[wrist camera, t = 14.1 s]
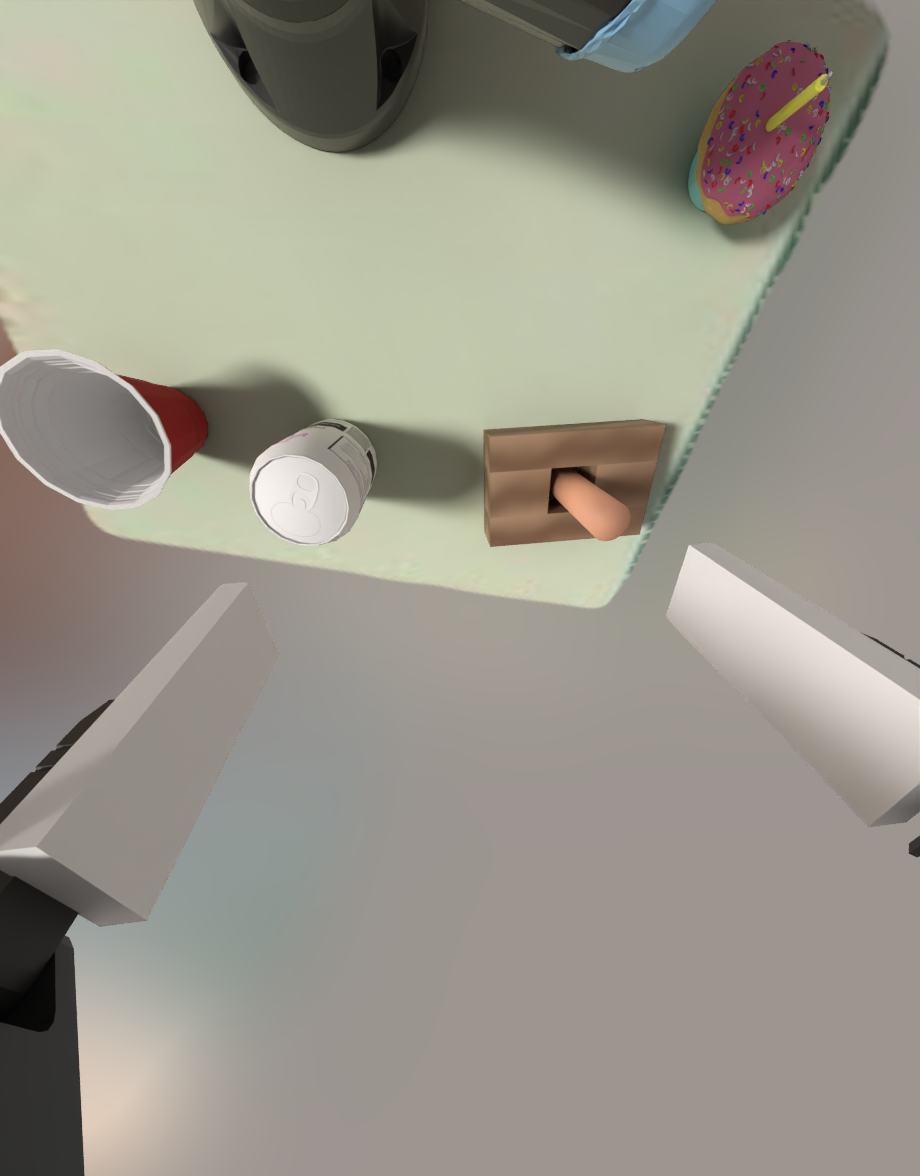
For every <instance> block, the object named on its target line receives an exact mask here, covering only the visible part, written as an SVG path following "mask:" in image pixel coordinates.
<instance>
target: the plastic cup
mask: <svg viewBox="0 0 920 1176" xmlns="http://www.w3.org/2000/svg"><path fill="white" fill-rule="evenodd" d="M0 433H1V435H2V436H3V438H4V439H5V441H6V443H7V444H8V446H9V447H10V449H11V451H12V452H13V454H14V455H15V457H16V459H17V460H18V461H20V462H21V463H22V464H23V465H24V466H25V467H26V468H27V469H28V470H29V471H31V472H32V473H33V474H34V475H35V476H36V477H37V478H38V479H39V480H40V481H42V482H43V483H44V484H45V485H47V486H48V487H50V488H52V489H54V490H56V491H58V492H60V493H61V494H63V495H65V496H67V497H69V498H71V499H73V500H74V501H76V502H79V503H83V504H87V505H92V506H96V507H100V508H104V509H108V510H113V509H124V508H134V507H139V506H141V505H142V504H144V503H146V502H147V501H149V500H151V499H152V498H154V497H156V496H158V495H159V494H160V493H161V491H162V489H163V487H164V485H165V483H166V481H167V480H168V478H169V477H170V475H171V474H172V473H173V472H174V471H175V470H177V469H178V468H179V467H180V466H181V465H182V464H184V463H185V462H186V461H187V460H188V459H190V458H191V457H192V456H193V454H194V453H195V452H196V451H197V450H198V449H200V448H201V447H202V446H203V444H204V442H205V440H206V438H207V436H208V423H207V420H206V418H205V415H204V413H203V411H202V410H201V408H200V407H199V406H198V405H197V403H196V402H195V401H194V400H193V399H191V398H190V397H188V396H187V395H186V394H184V393H183V392H180V391H179V390H176V389H173V388H170V387H167V386H163V385H157V384H153V383H149V382H146V381H143V380H139V379H134V378H130V377H126V376H121V375H117V374H115V373H113V372H112V371H110V370H109V369H107V368H106V367H104V366H103V365H101V364H100V363H98V362H96V361H93V360H90V359H87V358H84V357H81V356H78V355H74V354H71V353H68V352H65V351H62V350H59V349H52V350H34V351H23V352H21V353H20V354H18V355H17V356H15V357H14V358H12V359H11V360H9V361H8V362H6V363H5V364H4V365H2V366H1V367H0Z"/></svg>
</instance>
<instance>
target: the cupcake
mask: <svg viewBox="0 0 920 1176" xmlns="http://www.w3.org/2000/svg"><path fill="white" fill-rule="evenodd" d="M791 39H792V38H790V39H789V40H788V41H787V42H782V43H779V44H777V45H775V46H774V47H773V48H772V49H771V50H769V51H768V52H766V53H765V54H763V55H762V56H760V57H759V58H757V59H756V60H754V61H753V62H752V63H750V64H748V66H747V67H745V68H744V69H743V70H742V71H741V72H740V73H739V74H738V75H737V76H736V77H735V78H734V79H733V81H732V82H731V83H730V84H729V85H728V86H727V88H726V89H725V90H724V92H723V93H722V94H721V96H720V97H719V99H718V100H717V102H716V103H715V105H714V107H713V108H712V110H711V112H710V115H709V117H708V120H707V123H706V125H705V128H704V130H703V132H702V135H701V137H700V140H699V144H698V151H697V152H696V154H695V156H694V159H693V161H692V164H691V168H690V172H689V178H688V190H689V195H690V198H691V201H692V203H693V204H694V205H695V206H696V207H697V208H698V209H700V210H702V211H706V213H707V214H709V215H710V216H712V217H713V218H714V219H715V220H717V221H718V222H720V223H722V224H735V223H739V222H743V221H750V220H752V219H754V218H756V217H757V216H759V215H761V214H765V213H766V211H767V210H769V209H770V208H771V207H773V206H774V205H775V204H777V203H778V202H779V201H781V200H782V199H783V198H784V197H785V196H786V195H787V194H788V193H789V191H792V189H793V188H794V186H795V184H796V182H797V181H798V179H799V178H800V177H801V176H802V174H803V172H804V171H805V169H806V167H807V168H808V166H809V162H810V160H811V158H812V156H813V154H815V152H816V150H817V145H818V144H819V143H820V141H821V137H820V136H821V134H822V133H823V131H824V127H825V123H826V122H827V121H828V119H829V112H827V110H828V103H829V96H830V94H831V83H830V84H829V78H830V77H831V76H832V74H833V72H832V71H831V72H830V73H829V74H828V68H827V69H826V67H825V62H824V57H823V55H822V54H819V53H817V47H815V48H814V49H813V48H812V47H811V46H809V43H808V42H806V43H805V44H804V45H803V44H800V43H795V42H790V40H791ZM806 44H807V45H808V46H807V45H806ZM827 74H828V75H827ZM829 92H830V93H829ZM827 114H828V115H827ZM827 118H828V119H827ZM825 121H826V122H825ZM819 140H820V141H819ZM818 142H819V143H818Z"/></svg>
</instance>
